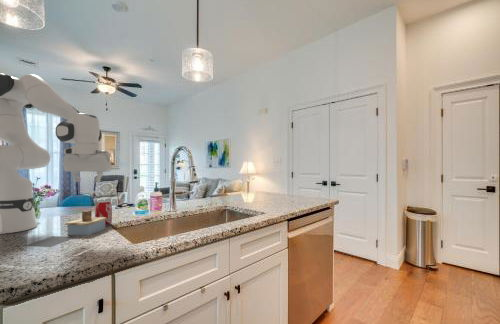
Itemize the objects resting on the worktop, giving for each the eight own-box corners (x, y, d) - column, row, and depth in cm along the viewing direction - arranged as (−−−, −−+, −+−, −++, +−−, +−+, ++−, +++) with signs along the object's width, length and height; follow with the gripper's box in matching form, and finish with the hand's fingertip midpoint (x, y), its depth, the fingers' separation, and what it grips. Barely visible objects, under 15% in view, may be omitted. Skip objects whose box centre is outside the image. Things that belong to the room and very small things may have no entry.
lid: (65, 224, 97) (65, 213, 97) (85, 218, 107) (85, 208, 107) (88, 225, 96) (88, 213, 96) (106, 219, 106) (106, 208, 106)
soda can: (103, 227, 110) (103, 202, 110) (91, 226, 112) (91, 202, 112) (115, 223, 117) (115, 200, 117) (103, 223, 119) (103, 199, 119)
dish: (67, 236, 97) (67, 224, 97) (85, 229, 107) (85, 218, 107) (88, 236, 96) (88, 224, 96) (105, 230, 106) (105, 219, 106)
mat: (24, 247, 85) (24, 245, 85) (52, 237, 96) (52, 236, 96) (51, 248, 84) (51, 246, 84) (76, 238, 95) (76, 236, 95)
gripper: (114, 150, 103) (114, 181, 103) (72, 150, 105) (72, 181, 105) (104, 150, 97) (104, 182, 97) (59, 150, 99) (59, 182, 99)
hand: (87, 182), depth 101 cm, fingers open, 8 cm apart
